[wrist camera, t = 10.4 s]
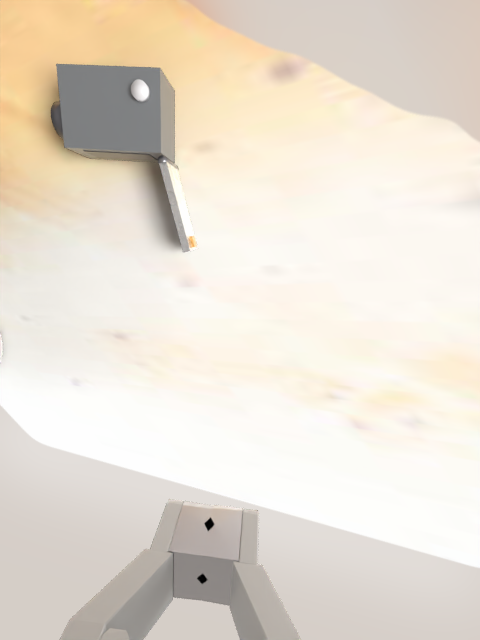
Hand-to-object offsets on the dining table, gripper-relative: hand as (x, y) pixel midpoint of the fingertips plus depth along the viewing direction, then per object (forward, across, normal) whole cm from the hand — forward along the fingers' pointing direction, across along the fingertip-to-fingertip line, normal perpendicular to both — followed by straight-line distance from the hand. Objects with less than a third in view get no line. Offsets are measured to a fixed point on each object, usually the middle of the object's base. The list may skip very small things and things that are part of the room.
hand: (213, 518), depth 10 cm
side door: (+29, +9, -11) cm, 32 cm away
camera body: (+29, +15, -20) cm, 38 cm away
